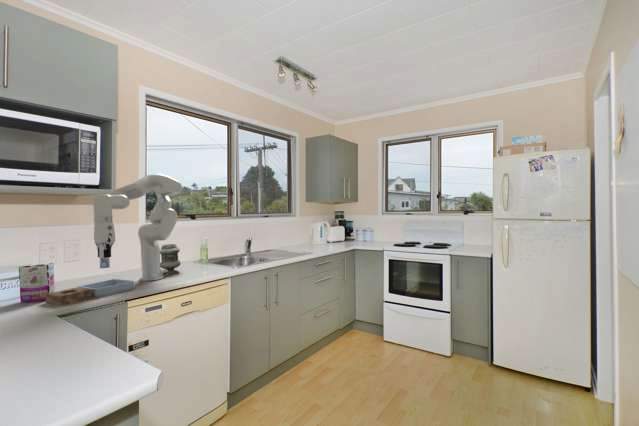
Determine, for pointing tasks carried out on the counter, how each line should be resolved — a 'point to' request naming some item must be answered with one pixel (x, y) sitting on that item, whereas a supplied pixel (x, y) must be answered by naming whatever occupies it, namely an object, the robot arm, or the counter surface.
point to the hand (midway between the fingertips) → (104, 256)
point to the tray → (108, 287)
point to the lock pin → (103, 261)
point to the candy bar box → (36, 282)
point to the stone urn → (169, 258)
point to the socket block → (68, 296)
